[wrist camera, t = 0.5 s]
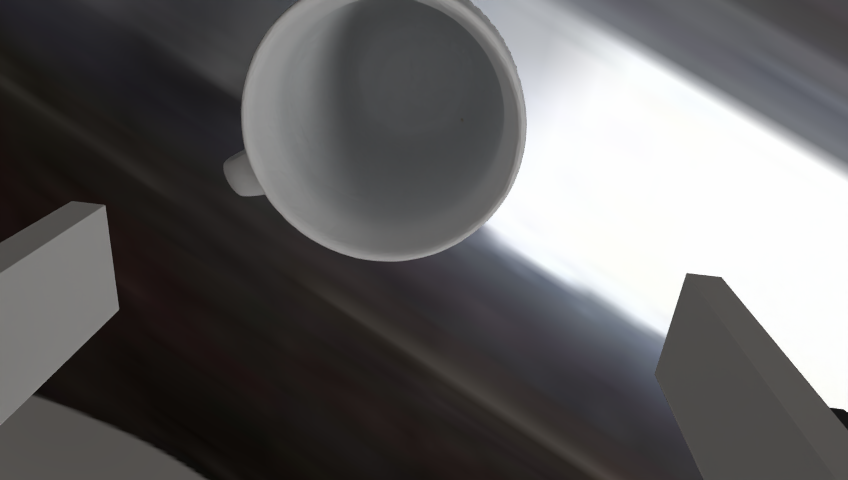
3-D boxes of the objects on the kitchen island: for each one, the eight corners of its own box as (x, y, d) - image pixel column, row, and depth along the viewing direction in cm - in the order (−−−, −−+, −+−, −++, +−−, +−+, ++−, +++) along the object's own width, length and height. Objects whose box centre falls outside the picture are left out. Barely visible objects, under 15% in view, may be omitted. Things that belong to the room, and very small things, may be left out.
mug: (318, 218, 38) (247, 328, 27) (228, 56, 35) (99, 99, 23) (539, 127, 35) (570, 206, 23) (465, -64, 31) (457, -88, 19)
